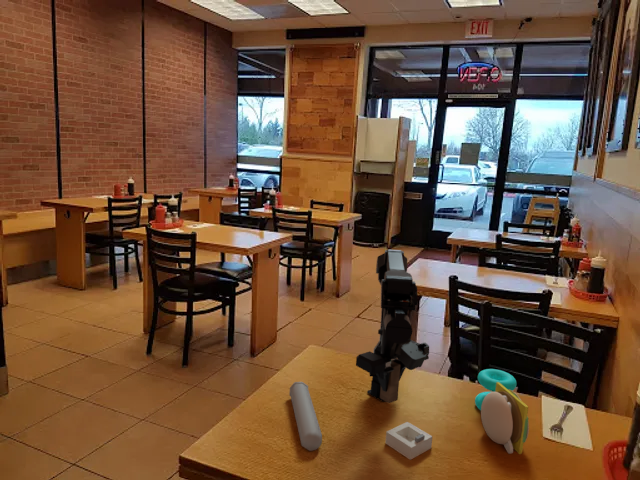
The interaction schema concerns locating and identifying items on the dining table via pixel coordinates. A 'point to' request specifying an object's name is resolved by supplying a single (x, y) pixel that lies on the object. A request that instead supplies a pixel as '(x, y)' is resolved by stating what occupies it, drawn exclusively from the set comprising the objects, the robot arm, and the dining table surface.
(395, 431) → the white square frame
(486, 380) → the donuts
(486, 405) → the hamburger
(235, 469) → the dining table surface
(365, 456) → the dining table surface
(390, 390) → the dark brown wooden beam
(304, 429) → the tube
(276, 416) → the dining table surface
